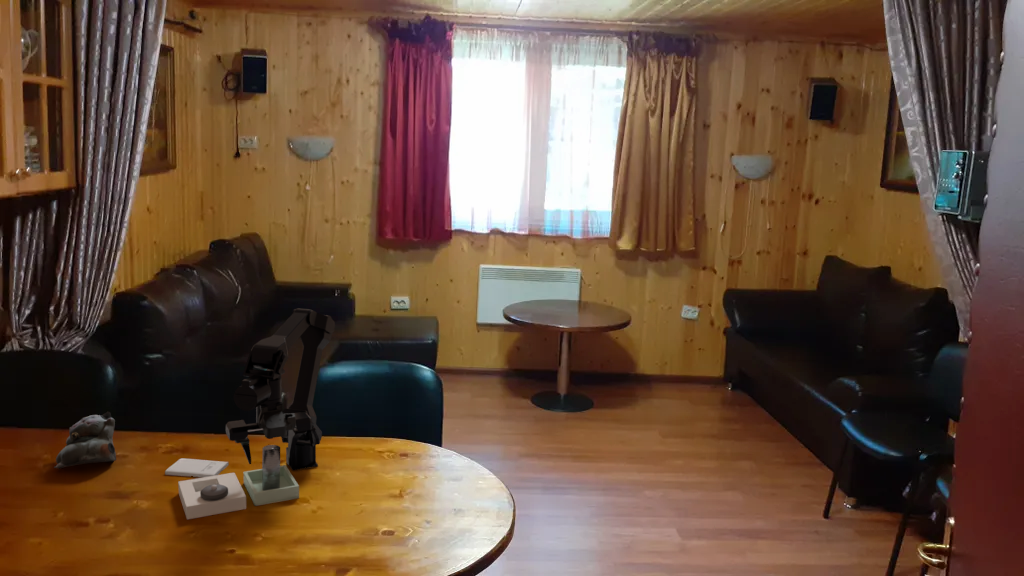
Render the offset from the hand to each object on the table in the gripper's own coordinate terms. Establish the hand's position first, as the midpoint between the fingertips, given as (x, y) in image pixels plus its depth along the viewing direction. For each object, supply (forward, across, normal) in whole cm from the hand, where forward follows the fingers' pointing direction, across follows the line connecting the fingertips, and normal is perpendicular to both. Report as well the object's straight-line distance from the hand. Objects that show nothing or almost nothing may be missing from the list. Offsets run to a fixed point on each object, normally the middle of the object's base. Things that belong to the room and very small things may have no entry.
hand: (270, 460), depth 190 cm
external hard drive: (+8, -14, +19) cm, 25 cm away
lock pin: (+7, 0, 0) cm, 7 cm away
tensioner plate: (+8, -13, 0) cm, 15 cm away
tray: (+8, 0, 0) cm, 8 cm away
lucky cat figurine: (+8, -38, +34) cm, 51 cm away
